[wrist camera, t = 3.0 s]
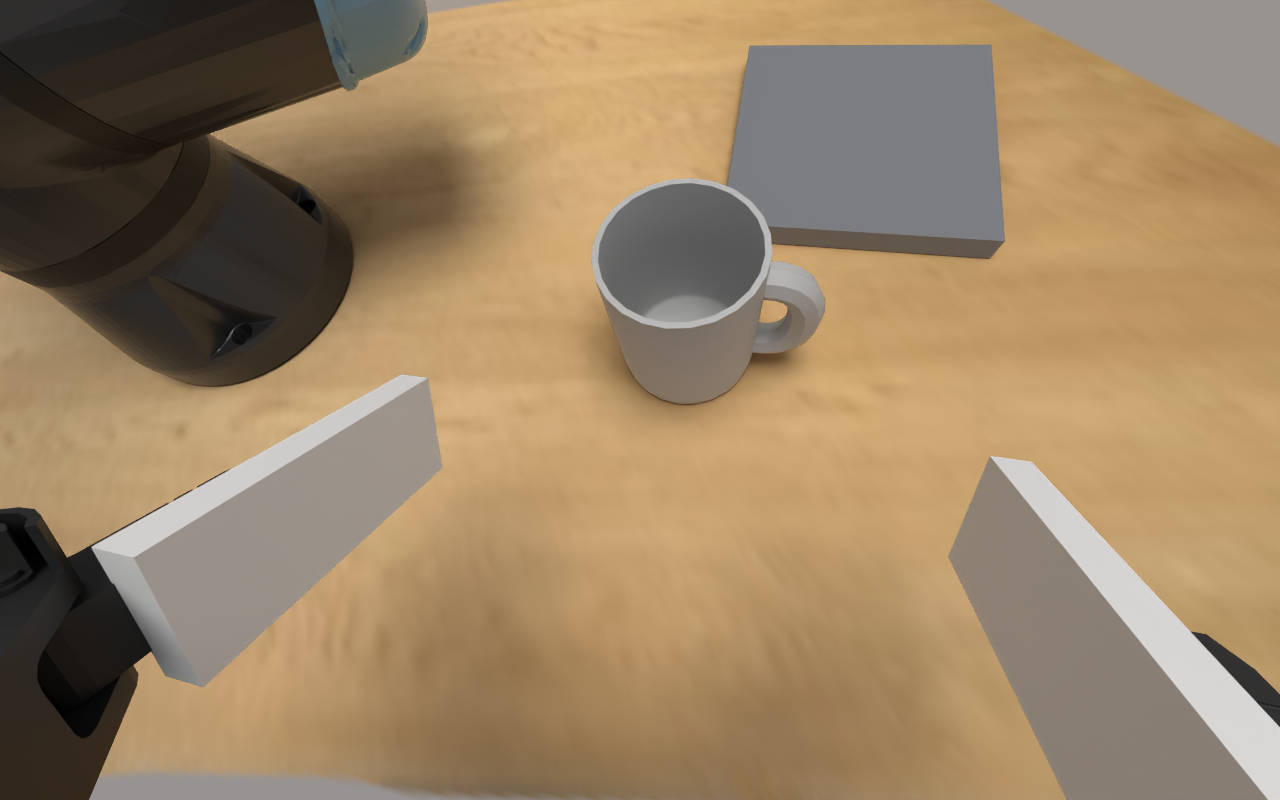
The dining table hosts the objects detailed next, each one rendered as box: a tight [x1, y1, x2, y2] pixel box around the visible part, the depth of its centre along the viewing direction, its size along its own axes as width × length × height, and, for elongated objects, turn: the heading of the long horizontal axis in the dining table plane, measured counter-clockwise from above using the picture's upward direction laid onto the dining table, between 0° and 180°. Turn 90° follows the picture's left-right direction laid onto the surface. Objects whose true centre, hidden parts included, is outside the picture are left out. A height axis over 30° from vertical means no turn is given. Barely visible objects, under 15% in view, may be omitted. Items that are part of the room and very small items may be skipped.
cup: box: [592, 178, 825, 404], centre depth 23 cm, size 7×10×9 cm
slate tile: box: [727, 45, 1005, 259], centre depth 30 cm, size 15×15×2 cm
